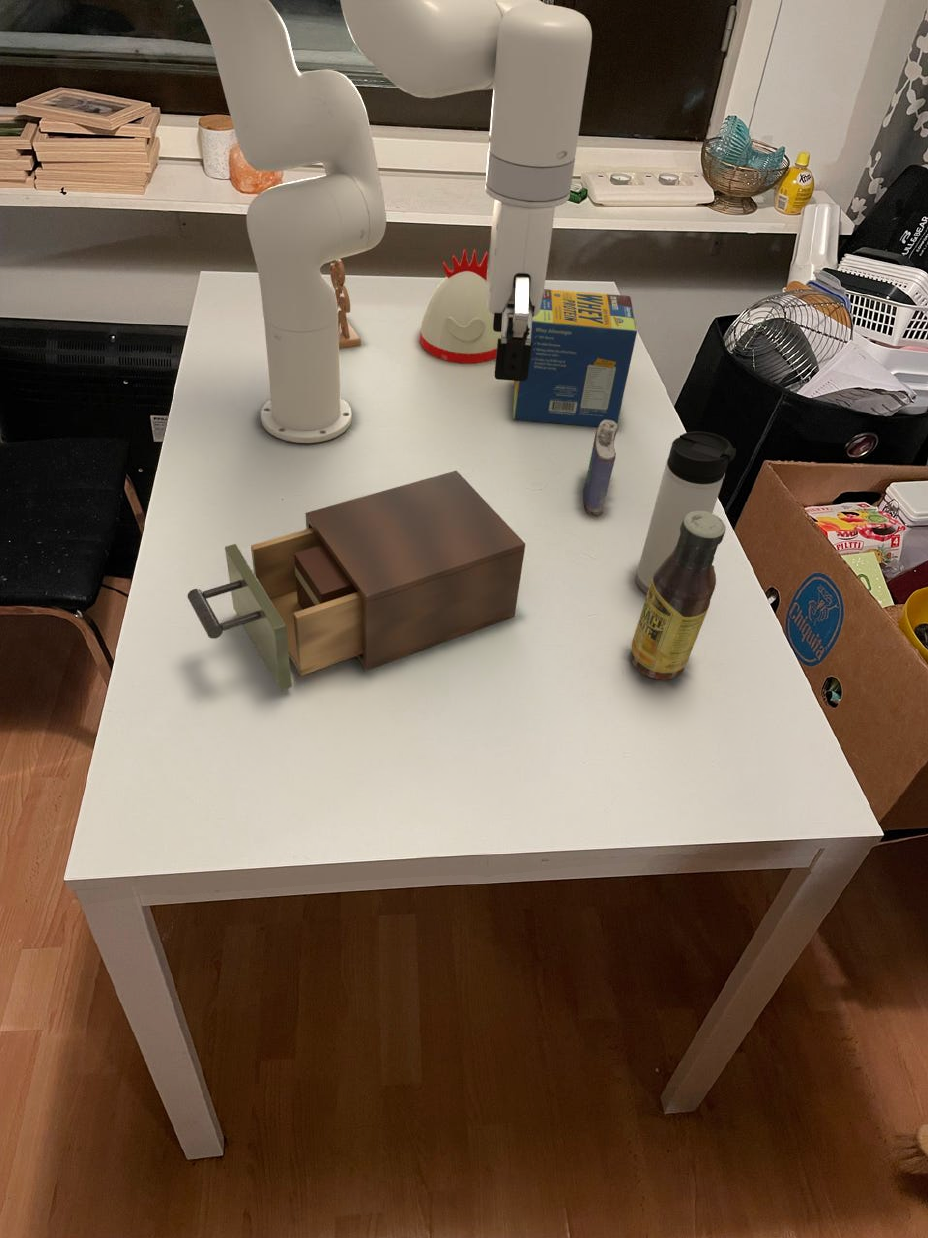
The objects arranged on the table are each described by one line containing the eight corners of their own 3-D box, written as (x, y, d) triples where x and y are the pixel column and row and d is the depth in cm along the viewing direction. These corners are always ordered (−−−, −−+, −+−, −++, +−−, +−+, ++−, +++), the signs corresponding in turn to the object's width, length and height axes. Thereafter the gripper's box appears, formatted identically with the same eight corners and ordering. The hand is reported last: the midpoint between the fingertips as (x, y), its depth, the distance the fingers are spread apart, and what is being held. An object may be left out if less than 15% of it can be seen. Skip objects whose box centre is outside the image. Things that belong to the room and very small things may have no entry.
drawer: (229, 709, 90) (219, 647, 84) (185, 623, 98) (172, 561, 92) (433, 636, 100) (437, 575, 93) (377, 562, 108) (377, 502, 101)
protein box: (512, 383, 141) (524, 285, 130) (612, 392, 141) (632, 294, 130) (512, 420, 133) (524, 319, 122) (617, 429, 134) (639, 329, 123)
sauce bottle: (623, 642, 102) (662, 497, 88) (677, 641, 103) (725, 498, 89) (635, 686, 98) (678, 541, 84) (692, 685, 98) (744, 542, 84)
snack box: (323, 643, 96) (321, 594, 91) (297, 602, 100) (293, 552, 95) (359, 631, 98) (358, 582, 93) (331, 591, 102) (329, 542, 97)
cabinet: (366, 670, 96) (365, 596, 89) (309, 586, 105) (305, 512, 98) (514, 616, 104) (525, 543, 97) (450, 541, 113) (456, 469, 105)
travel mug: (678, 609, 107) (724, 466, 93) (626, 586, 109) (664, 443, 95) (698, 580, 111) (745, 439, 97) (648, 559, 113) (687, 417, 99)
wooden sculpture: (361, 345, 146) (361, 271, 138) (338, 348, 145) (336, 274, 136) (343, 319, 152) (342, 247, 143) (320, 322, 150) (317, 249, 142)
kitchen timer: (505, 366, 144) (516, 273, 134) (418, 359, 144) (421, 265, 134) (504, 325, 154) (514, 235, 144) (422, 318, 154) (426, 228, 144)
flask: (603, 517, 118) (618, 446, 111) (580, 514, 118) (594, 443, 111) (606, 476, 125) (621, 407, 117) (584, 473, 125) (598, 404, 118)
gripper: (485, 140, 87) (472, 312, 99) (487, 209, 74) (471, 396, 86) (564, 146, 87) (541, 317, 99) (579, 216, 75) (551, 402, 86)
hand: (509, 354), depth 92 cm, fingers open, 9 cm apart
